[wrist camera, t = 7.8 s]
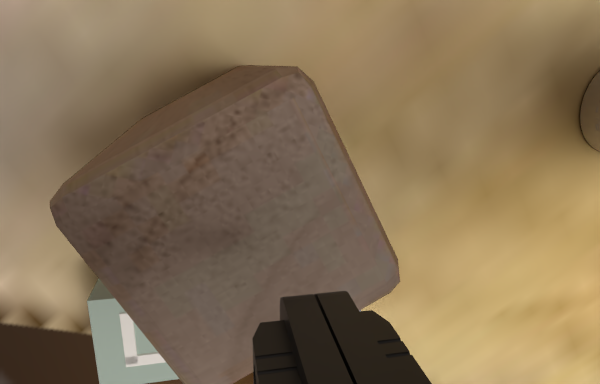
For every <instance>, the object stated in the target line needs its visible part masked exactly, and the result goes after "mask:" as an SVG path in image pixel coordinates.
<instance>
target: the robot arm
mask: <svg viewBox="0 0 600 384" xmlns="http://www.w3.org/2000/svg"><path fill="white" fill-rule="evenodd" d="M580 122H581V129H582V132H583V135H584V137H585V139H586V140H587V142H588V143H589V144H590V145H591V146H592V147H593V148H594V149H596V150H598V151H600V71H599V72H598V73H597V74H596V75H595V77H594V78H593V80H592V81H591V83H590V84H589V86H588V88H587V90H586V93H585V95H584V98H583V101H582V105H581V112H580ZM252 342H253V373H254V384H431V382H430V381H429V379H428V378H427V376H426V375H425V373H424V372H423V371H422V369H421V368H420V366H419V365H418V363H417V362H416V360H415V359H414V357H413V356H412V355H410V353H409V350H408V349H407V347H406V346H405V344H404V343H403V341H401V340H400V337H399V335H398V334H397V333H396V331H395V330H394V328H393V327H392V325H391V324H390V322H388V321H387V320H385V319H384V318H382V317H381V316H379V315H378V314H376V313H375V312H374V311H372V310H371V311H361V312H360V311H359V310H358V308H357V306H356V305H355V303H354V301H353V300H352V298H351V296H350V295H349V293H348V292H347V291H337V292H327V293H317V294H314V295H313V294H308V295H298V296H288V297H281V298H280V321H270V322H261V323H260V324H259V326H258V328H257V330H256V332H255V334H254V336H253V338H252Z"/></svg>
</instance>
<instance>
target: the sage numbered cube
mask: <svg viewBox="0 0 600 384" xmlns="http://www.w3.org/2000/svg"><path fill="white" fill-rule="evenodd" d="M87 303H88V310H89V317H90V323H91V330H92V336H93V343H94V349H95V356H96V363H97V369H98V376H99V383H100V384H144V383H152V382H160V381H167V380H175V379H179V378H178V376H177V375H176V374H175V373H174V371H173V370H172V369H171V368H170V366H169V365H168V364H167V363H166V361H165V360H164V359H163V358H162V356H161V355H160V354H159V353H158V351H157V350H156V349H155V348H154V346H153V345H152V344H151V343H150V341H149V340H148V339H147V338H146V336H145V335H144V334H143V333H142V331H141V330H140V329H139V328H138V327H137V325H136V324H135V323H134V322H133V320H132V319H131V318H130V317H129V315H128V314H127V313H126V312H125V310H124V309H123V308H122V307H121V305H120V304H119V303H118V302H117V300H116V299H115V298H114V297H113V295H112V294H111V293H110V292H109V290H108V289H107V288H106V287H105V285H104V284H103V283H102V282H101V280H100V279H98V281H97V283H96V284H95V286H94V288H93V290H92V292H91V294H90V296H89V298H88V300H87Z"/></svg>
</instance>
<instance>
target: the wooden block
mask: <svg viewBox="0 0 600 384" xmlns="http://www.w3.org/2000/svg"><path fill="white" fill-rule="evenodd" d="M50 209H51V212H52V215H53V217H54V220H55V223H56V226H57V227H58V228H59V229H60V231H61V232H62V233H63V234H64V236H65V237H66V238H67V239H68V241H69V242H70V243H71V244H72V246H73V247H74V248H75V249H76V251H77V252H78V253H79V254H80V256H81V257H82V258H83V259H84V261H85V262H86V263H87V264H88V266H89V267H90V268H91V269H92V270H93V272H94V273H95V274H96V275H97V277H98V278H99V279H100V280H101V282H102V283H103V284H104V285H105V287H106V288H107V289H108V290H109V292H110V293H111V294H112V295H113V297H114V298H115V299H116V300H117V302H118V303H119V304H120V305H121V307H122V308H123V309H124V310H125V312H126V313H127V314H128V315H129V317H130V318H131V319H132V320H133V322H134V323H135V324H136V325H137V327H138V328H139V329H140V330H141V331H142V333H143V334H144V335H145V336H146V338H147V339H148V340H149V341H150V343H151V344H152V345H153V346H154V348H155V349H156V350H157V351H158V353H159V354H160V355H161V356H162V358H163V359H164V360H165V361H166V363H167V364H168V365H169V366H170V368H171V369H172V370H173V371H174V373H175V374H176V375H177V376H178V378H179V379H180V380H181V381H182V383H183V384H233V383H234V382H236V381H238V380H240V379H241V378H243V377H245V376H246V375H248V374H250V373H252V372H253V342H252V338H253V336H254V334H255V332H256V330H257V328H258V326H259V324H260V323H261V322H270V321H280V298H281V297H288V296H298V295H308V294H313V295H314V294H317V293H327V292H337V291H347V292H348V293H349V295H350V296H351V298H352V300H353V301H354V303H355V305H356V306H357V308H358V310H361V309H363V308H364V307H366V306H368V305H370V304H371V303H373V302H375V301H377V300H378V299H380V298H382V297H383V296H385V295H387V294H389V293H390V292H391V291H392V290H393V289H394V288H395V287H396V285H397V284H398V283H399V282H400V277H399V266H398V259H397V256H396V254H395V252H394V250H393V248H392V246H391V244H390V242H389V240H388V237H387V235H386V233H385V231H384V229H383V227H382V225H381V223H380V221H379V218H378V216H377V214H376V212H375V210H374V208H373V206H372V204H371V202H370V199H369V197H368V195H367V193H366V191H365V189H364V187H363V185H362V183H361V180H360V178H359V176H358V174H357V172H356V170H355V168H354V166H353V164H352V161H351V159H350V157H349V155H348V153H347V151H346V149H345V147H344V145H343V143H342V140H341V138H340V136H339V134H338V132H337V130H336V128H335V126H334V124H333V121H332V119H331V117H330V115H329V113H328V111H327V109H326V107H325V105H324V102H323V100H322V98H321V96H320V94H319V92H318V90H317V88H316V86H315V83H314V81H312V80H311V79H310V78H309V77H308V76H307V75H306V74H305V73H304V72H302V71H301V70H300V69H299V68H298V67H290V66H254V65H248V66H238V67H236V68H235V69H233V70H231V71H229V72H227V73H225V74H223V75H222V76H220V77H218V78H216V79H214V80H212V81H210V82H209V83H207V84H205V85H203V86H201V87H199V88H198V89H196V90H194V91H192V92H190V93H188V94H186V95H185V96H183V97H181V98H179V99H177V100H175V101H173V102H172V103H170V104H168V105H166V106H164V107H162V108H161V109H159V110H157V111H155V112H153V113H151V114H149V115H148V116H146V117H144V118H142V119H141V120H140V121H138V122H137V123H136V124H135V125H134V126H132V127H131V128H130V129H129V130H128V131H126V132H125V133H124V134H123V135H122V136H120V137H119V138H118V139H117V140H115V141H114V142H113V143H112V144H111V145H109V146H108V147H107V148H106V149H105V150H103V151H102V152H101V153H100V154H99V155H97V156H96V157H95V158H94V159H93V160H91V161H90V162H89V163H88V164H86V165H85V166H84V167H83V168H82V169H80V170H79V171H78V172H77V173H76V174H74V175H73V176H72V177H71V178H70V179H68V180H67V181H66V182H65V183H64V184H63V185H62V186H61V187H60V189H59V190H58V191H57V193H56V194H55V195H54V197H53V198H52V199H51V201H50Z"/></svg>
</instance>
